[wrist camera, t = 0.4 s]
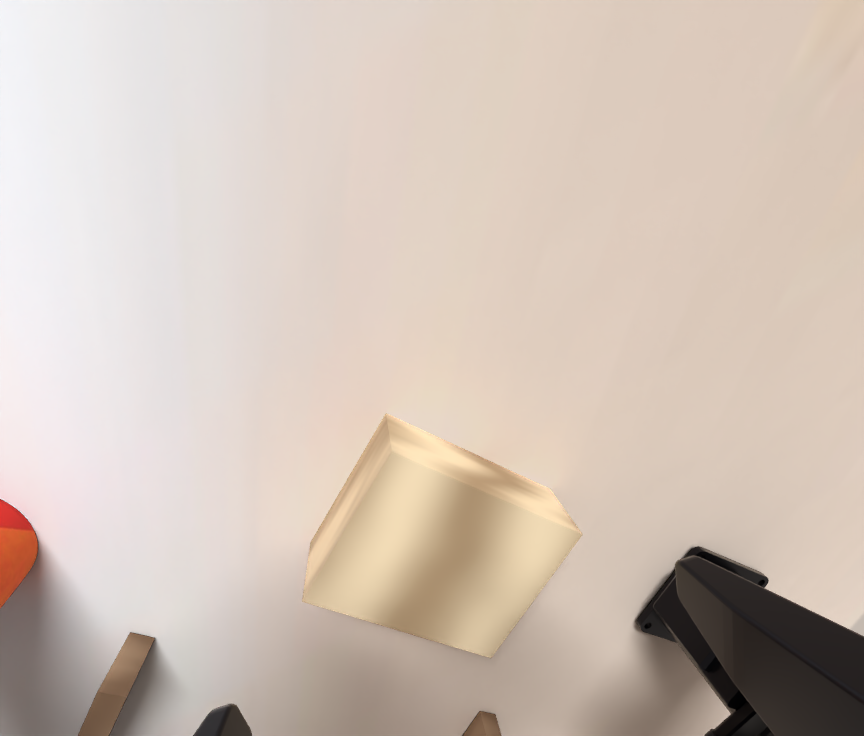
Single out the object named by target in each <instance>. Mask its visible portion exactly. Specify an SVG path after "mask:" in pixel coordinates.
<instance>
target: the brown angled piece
mask: <svg viewBox="0 0 864 736" xmlns="http://www.w3.org/2000/svg"><path fill="white" fill-rule="evenodd" d="M154 639H155V638H153V637H148V636H144V635H139V634H135V633H130V634H129V635H128V637H127V639H126V641H125V643H124V645H123V646H122V648H121V650H120V652H119V654H118V655H117V657H116V659H115V661H114V663H113V664H112V666H111V668H110V670H109V672H108V674H107V675H106V677H105V679H104V681H103V683H102V684H101V686H100V688H99V690H98V692H97V694H96V696H95V698H94V701H93V703H92V705H91V707H90V710H89V712H88V714H87V716H86V718H85V721H84V723H83V725H82V727H81V730H80V732H79V734H78V736H109V735H110V733H111V731H112V729H113V726H114V724H115V722H116V720H117V718H118V716H119V714H120V711H121V709H122V707H123V705H124V703H125V701H126V699H127V697H128V694H129V692H130V690H131V688H132V686H133V684H134V682H135V679H136V677H137V675H138V673H139V671H140V669H141V667H142V665H143V662H144V660H145V658H146V656H147V654H148V652H149V650H150V647H151V645H152V643H153V641H154ZM463 736H501V733H500V729H499V726H498V722H497V718H496V715H495V714H491V713H486V712H482V711H480V712H479V713H478V715H477V716H476V717H475V719H474V720H473V722H472V723H471V724H470V726H469V727H468V729H467V730H466V731H465V733H464V734H463Z"/></svg>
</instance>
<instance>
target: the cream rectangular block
mask: <svg viewBox="0 0 864 736" xmlns="http://www.w3.org/2000/svg"><path fill="white" fill-rule="evenodd" d="M582 535H583V534H582V533H581V531H580V530H579V529H578V527H577V526H576V524H575V523H574V522H573V520H572V519H571V518H570V516H569V515H568V513H567V512H566V511H565V509H564V508H563V506H562V505H561V504H560V502H559V501H558V499H557V498H556V497H555V495H554V494H553V492H552V491H551V490H550V489H549V488H547V487H545V486H543V485H540V484H538V483H536V482H534V481H532V480H530V479H527V478H525V477H523V476H521V475H519V474H517V473H514V472H512V471H510V470H508V469H506V468H504V467H501V466H499V465H497V464H495V463H493V462H491V461H488V460H486V459H484V458H482V457H480V456H478V455H475V454H473V453H471V452H469V451H467V450H465V449H462V448H460V447H458V446H456V445H454V444H452V443H449V442H447V441H445V440H443V439H441V438H439V437H436V436H434V435H432V434H430V433H428V432H426V431H423V430H421V429H419V428H417V427H415V426H413V425H410V424H408V423H406V422H404V421H402V420H400V419H397V418H395V417H393V416H391V415H389V414H387V413H386V414H385V416H384V418H383V419H382V421H381V423H380V424H379V426H378V428H377V430H376V431H375V433H374V435H373V436H372V438H371V440H370V442H369V443H368V445H367V447H366V448H365V450H364V452H363V454H362V455H361V457H360V459H359V460H358V462H357V464H356V466H355V467H354V469H353V471H352V472H351V474H350V476H349V478H348V479H347V481H346V483H345V484H344V486H343V488H342V490H341V491H340V493H339V495H338V496H337V498H336V500H335V502H334V503H333V505H332V507H331V508H330V510H329V512H328V514H327V515H326V517H325V519H324V520H323V522H322V524H321V526H320V527H319V529H318V531H317V532H316V534H315V536H314V538H313V539H312V541H311V543H310V550H309V557H308V564H307V571H306V578H305V585H304V592H303V599H302V602H305V603H308V604H312V605H315V606H318V607H322V608H325V609H328V610H332V611H335V612H338V613H342V614H345V615H348V616H352V617H355V618H358V619H362V620H365V621H368V622H372V623H375V624H378V625H382V626H385V627H388V628H392V629H395V630H398V631H402V632H405V633H408V634H412V635H415V636H418V637H422V638H425V639H428V640H432V641H435V642H438V643H442V644H445V645H448V646H452V647H455V648H458V649H462V650H465V651H468V652H472V653H475V654H478V655H482V656H485V657H488V658H492V656H493V655H494V654H495V652H496V651H497V650H498V648H499V647H500V646H501V644H502V643H503V641H504V640H505V639H506V637H507V636H508V635H509V633H510V632H511V631H512V629H513V628H514V627H515V625H516V624H517V623H518V621H519V620H520V618H521V617H522V616H523V614H524V613H525V612H526V610H527V609H528V608H529V606H530V605H531V604H532V602H533V601H534V600H535V598H536V597H537V595H538V594H539V593H540V591H541V590H542V589H543V587H544V586H545V585H546V583H547V582H548V581H549V579H550V578H551V577H552V575H553V574H554V572H555V571H556V570H557V568H558V567H559V566H560V564H561V563H562V562H563V560H564V559H565V558H566V556H567V555H568V554H569V552H570V551H571V549H572V548H573V547H574V545H575V544H576V543H577V541H578V540H579V539H580V537H581V536H582Z"/></svg>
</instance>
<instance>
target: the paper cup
mask: <svg viewBox="0 0 864 736" xmlns="http://www.w3.org/2000/svg"><path fill="white" fill-rule="evenodd" d="M37 553H38V542H37V537H36V534H35V532H34V530H33V528H32V526H31V524H30V523H29V522H28V520H27V519H26V518H25V517H24V516H23V515H22V514H21V513H20V512H19V511H18V510H17V509H15V508H14V507H13V506H11V505H10V504H8V503H7V502H5V501H3V500H1V499H0V608H1V607H2V606H3V605H4V603H5V602H6V601H7V599H8V598H9V597H10V596H11V594H12V593H13V592H14V591H15V589H16V588H17V587H18V586H19V584H20V583H21V582H22V580H23V579H24V578H25V576H26V575H27V574H28V572H29V571H30V569H31V568H32V566H33V564H34V562H35V560H36V557H37Z"/></svg>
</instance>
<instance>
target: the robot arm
mask: <svg viewBox="0 0 864 736" xmlns="http://www.w3.org/2000/svg"><path fill="white" fill-rule="evenodd" d="M768 581H769V580H768V578H767V577H766V576H765V575H764V574H762V573H761V572H759V571H757V570H754V569H752V568H750V567H747V566H745V565H743V564H740V563H738V562H736V561H733V560H731V559H728V558H726V557H724V556H721V555H719V554H717V553H714V552H712V551H710V550H707V549H705V548H703V547H695V548H693V549H692V550H691V551H690V552H689V553H688V555H687V556H686V557H685V558H683V559H680V560H678V561H677V562H676V564H675V572H674V573H673V574H672V575H671V577H670V578H669V579H668V581H667V582H666V583H665V584H664V586H663V587H662V588H661V590H660V591H659V592H658V594H657V595H656V596H655V597H654V599H653V600H652V601H651V603H650V604H649V605H648V606H647V608H646V609H645V610H644V612H643V613H642V614H641V616H640V617H639V618H638V620H637V624H638V626H639V628H640V629H641V630H642V631H643V632H646V633H649V634H652V635H655V636H658V637H661V638H664V639H667V640H670V641H673V642H677V643H678V644H679V646H680V647H681V648H682V650H683V651H684V652H685V654H686V655H687V656H688V657H689V659H690V660H691V661H692V663H693V664H694V665H695V667H696V668H697V669H698V671H699V672H700V673H701V675H702V676H703V677H704V679H705V680H706V681H707V683H708V684H709V685H710V687H711V688H712V689H713V691H714V692H715V693H716V694H717V696H718V697H719V698H720V700H721V701H722V702H723V704H724V705H725V706H726V708H727V709H728V710H729V712H730V713H731V715H730V716H729V717H728V718H726V719H725V720H724V721H723V722H722V723H721V724H720V725H719V726H718V727H716V728H715V729H711V730H709V731H708V732H707V733H706V734H705V735H704V736H864V636H862V635H860V634H858V633H856V632H854V631H852V630H850V629H847V628H845V627H843V626H841V625H839V624H837V623H835V622H833V621H831V620H829V619H827V618H825V617H823V616H821V615H819V614H817V613H814V612H812V611H810V610H808V609H806V608H804V607H802V606H800V605H798V604H796V603H794V602H792V601H790V600H788V599H786V598H783V597H781V596H779V595H777V594H775V593H773V592H771V591H769V590H767V589H765V586H766V585H767V584H768ZM193 736H252V733H251V730H250V727H249V726H248V724H247V722H246V721H245V719H244V717H243V716H242V714H241V712H240V710H239V709H238V707H237V706H236V705H235V704H228V705H225V706H222V707H218V708H216V709H214V710H212V711H211V712H210V713H209V714H208V715H207V717H206V718H205V719H204V721H203V722H202V724H201V725H200V727H199V728H198V729H197V731H196V732H195V734H194V735H193Z"/></svg>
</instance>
